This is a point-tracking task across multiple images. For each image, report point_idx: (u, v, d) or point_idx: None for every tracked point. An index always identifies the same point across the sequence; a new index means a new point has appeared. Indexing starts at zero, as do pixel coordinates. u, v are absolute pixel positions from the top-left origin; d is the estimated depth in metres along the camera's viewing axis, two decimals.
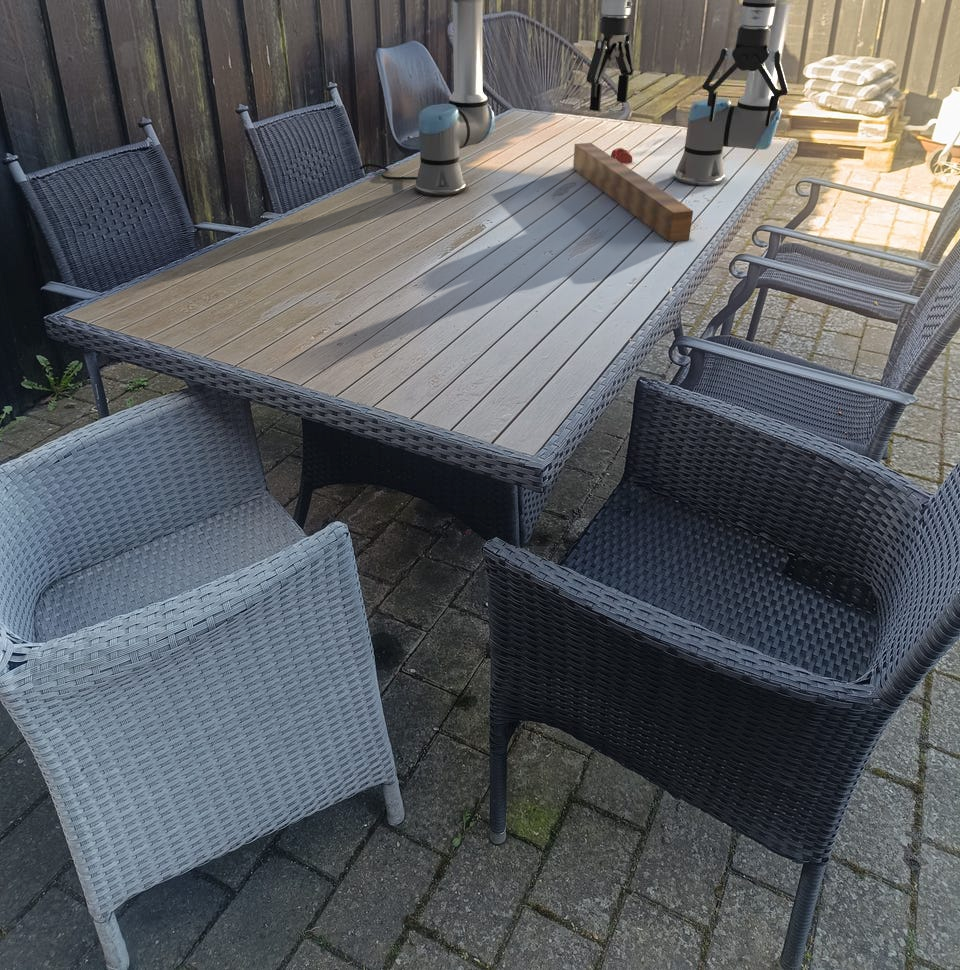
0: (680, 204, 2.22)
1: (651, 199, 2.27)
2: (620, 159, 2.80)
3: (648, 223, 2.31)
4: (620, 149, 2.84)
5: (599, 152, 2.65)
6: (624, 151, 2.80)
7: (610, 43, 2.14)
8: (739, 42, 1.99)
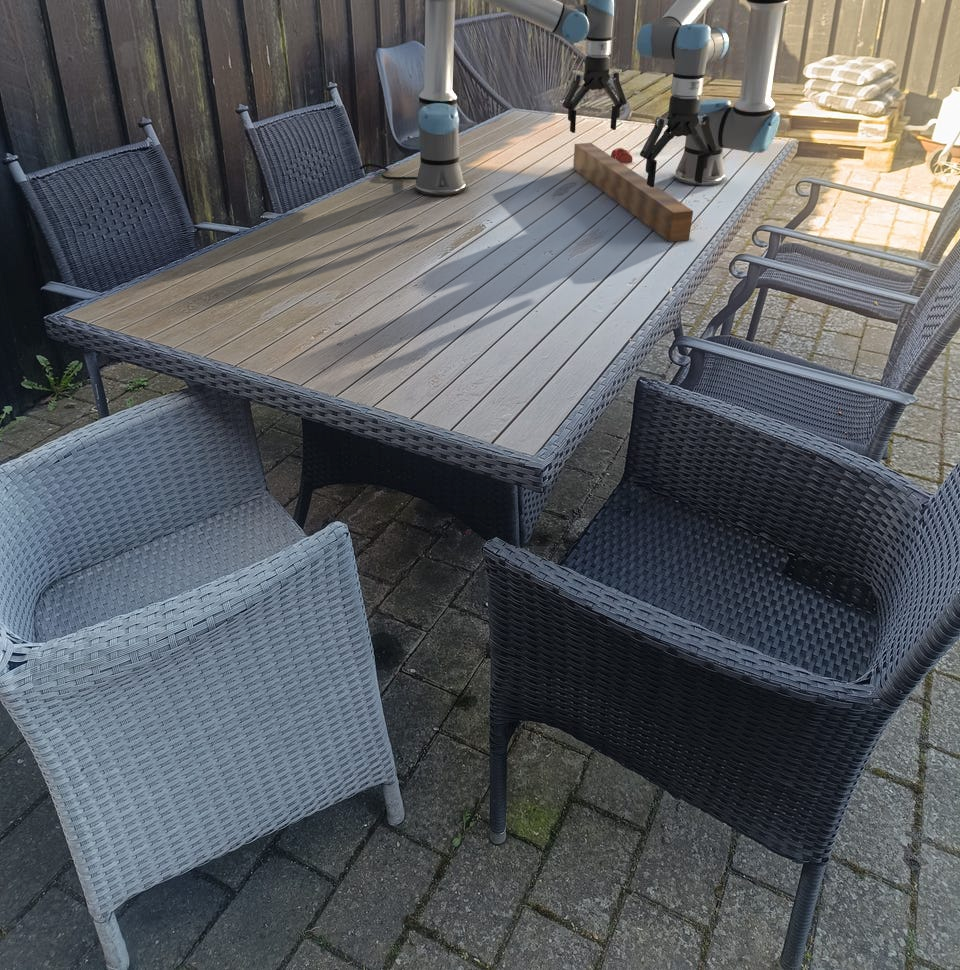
0: (680, 204, 2.22)
1: (651, 199, 2.27)
2: (620, 159, 2.80)
3: (648, 223, 2.31)
4: (620, 149, 2.84)
5: (599, 152, 2.65)
6: (624, 151, 2.80)
7: (587, 77, 2.54)
8: (678, 112, 2.06)
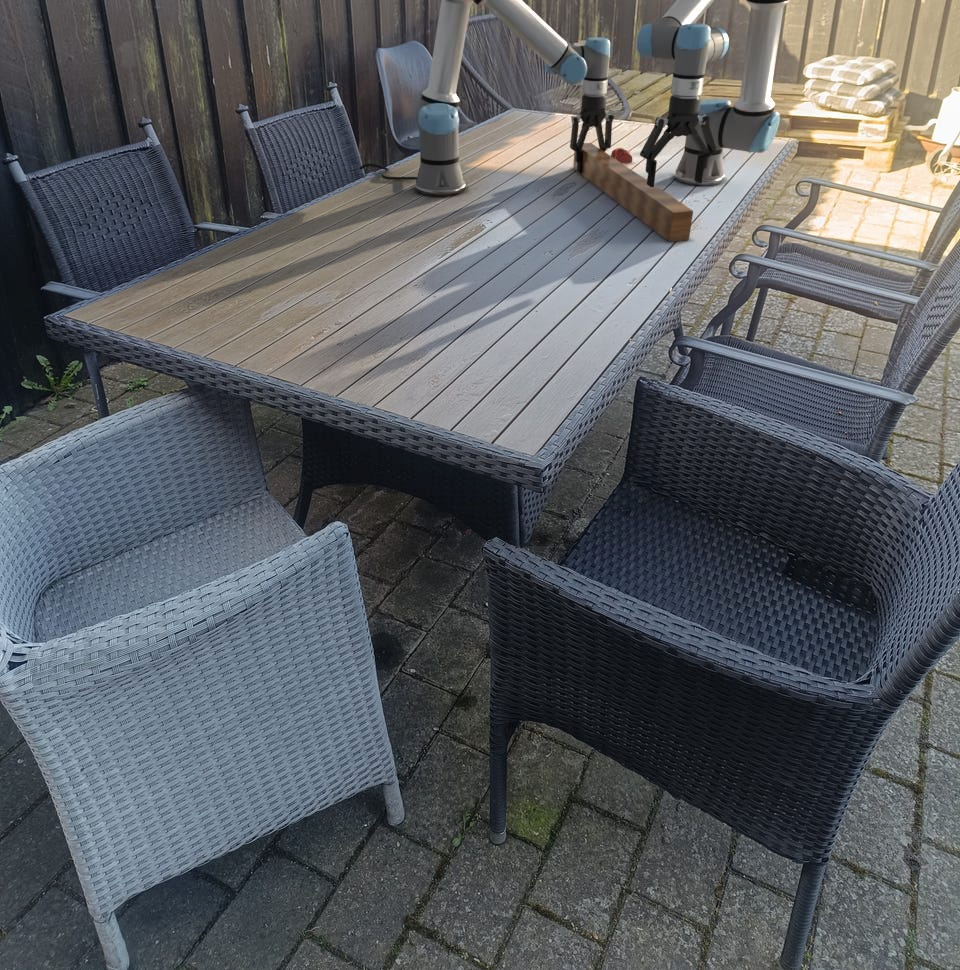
0: (680, 204, 2.22)
1: (651, 199, 2.27)
2: (620, 159, 2.80)
3: (648, 223, 2.31)
4: (620, 149, 2.84)
5: (599, 152, 2.65)
6: (624, 151, 2.80)
7: (584, 115, 2.61)
8: (678, 112, 2.06)
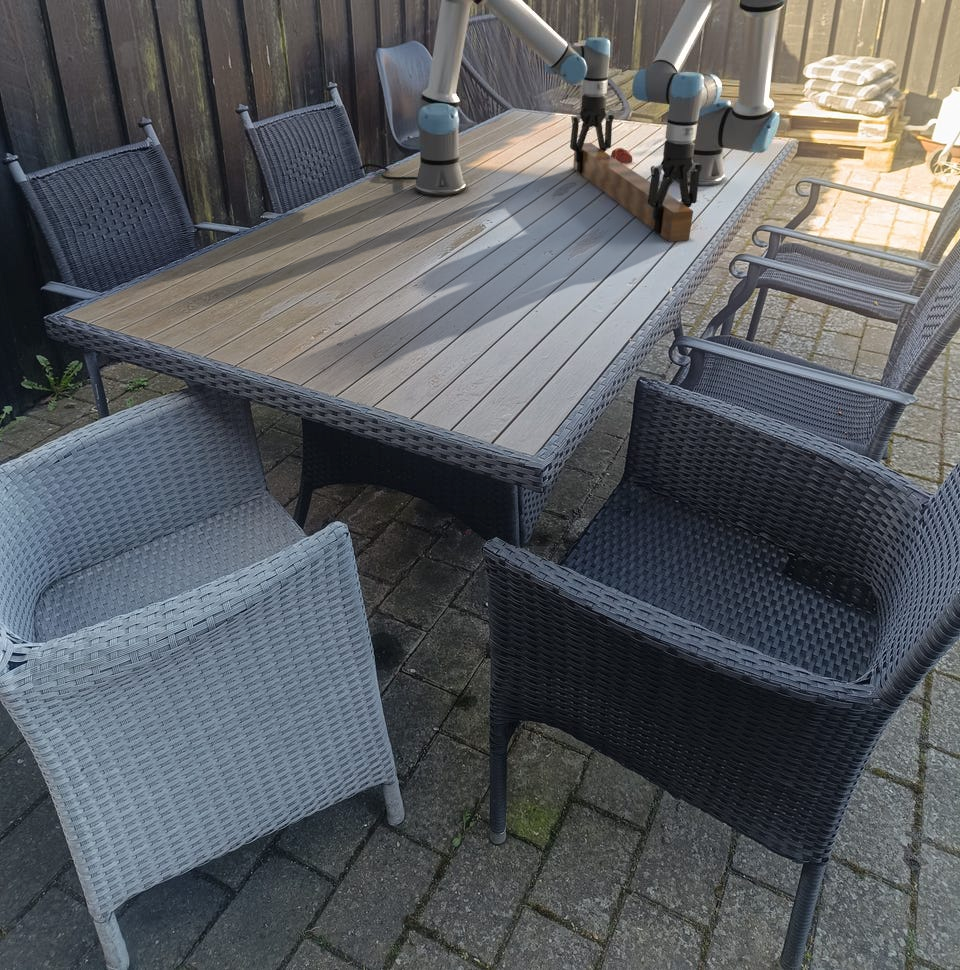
0: (680, 204, 2.22)
1: None
2: (620, 159, 2.80)
3: (648, 223, 2.31)
4: (620, 149, 2.84)
5: (599, 152, 2.65)
6: (624, 151, 2.80)
7: (584, 115, 2.61)
8: (672, 156, 2.12)
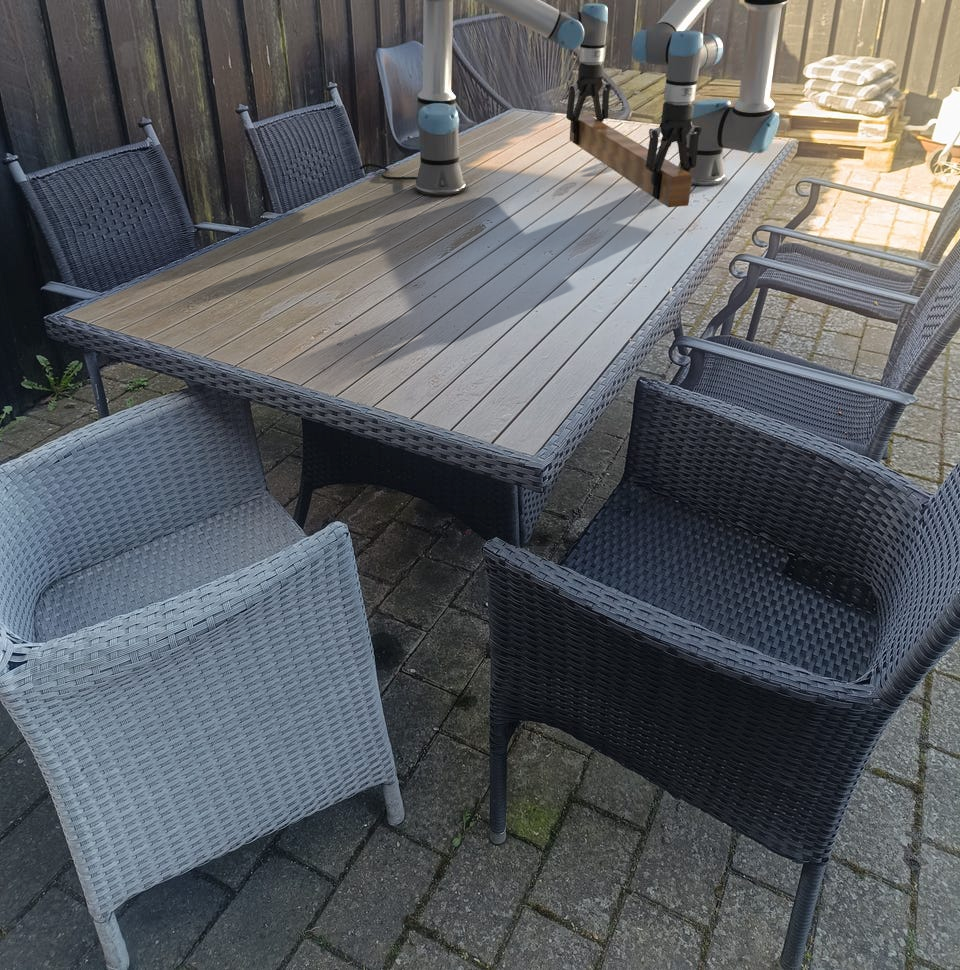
0: (679, 169, 2.17)
1: None
2: None
3: (646, 190, 2.26)
4: None
5: (596, 122, 2.60)
6: None
7: (580, 84, 2.56)
8: (671, 118, 2.07)
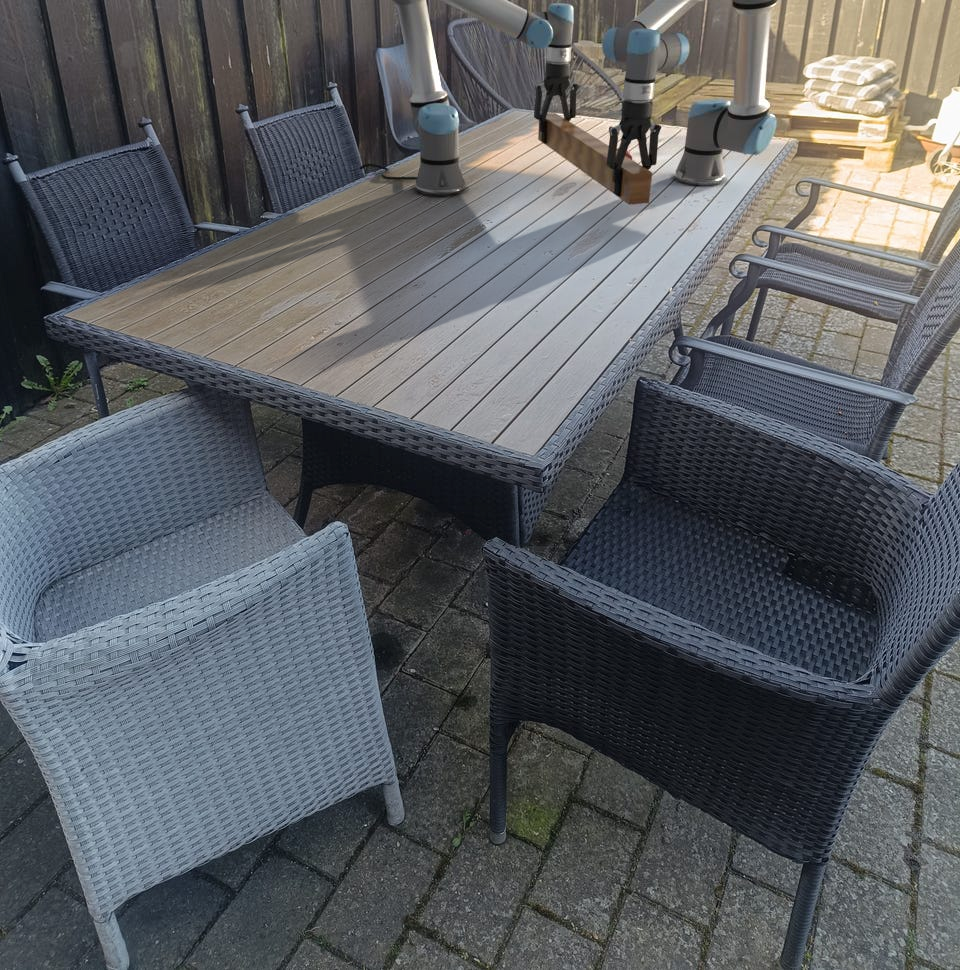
0: (640, 166, 2.18)
1: None
2: None
3: (609, 187, 2.27)
4: None
5: (563, 121, 2.61)
6: None
7: (547, 83, 2.58)
8: (630, 116, 2.09)
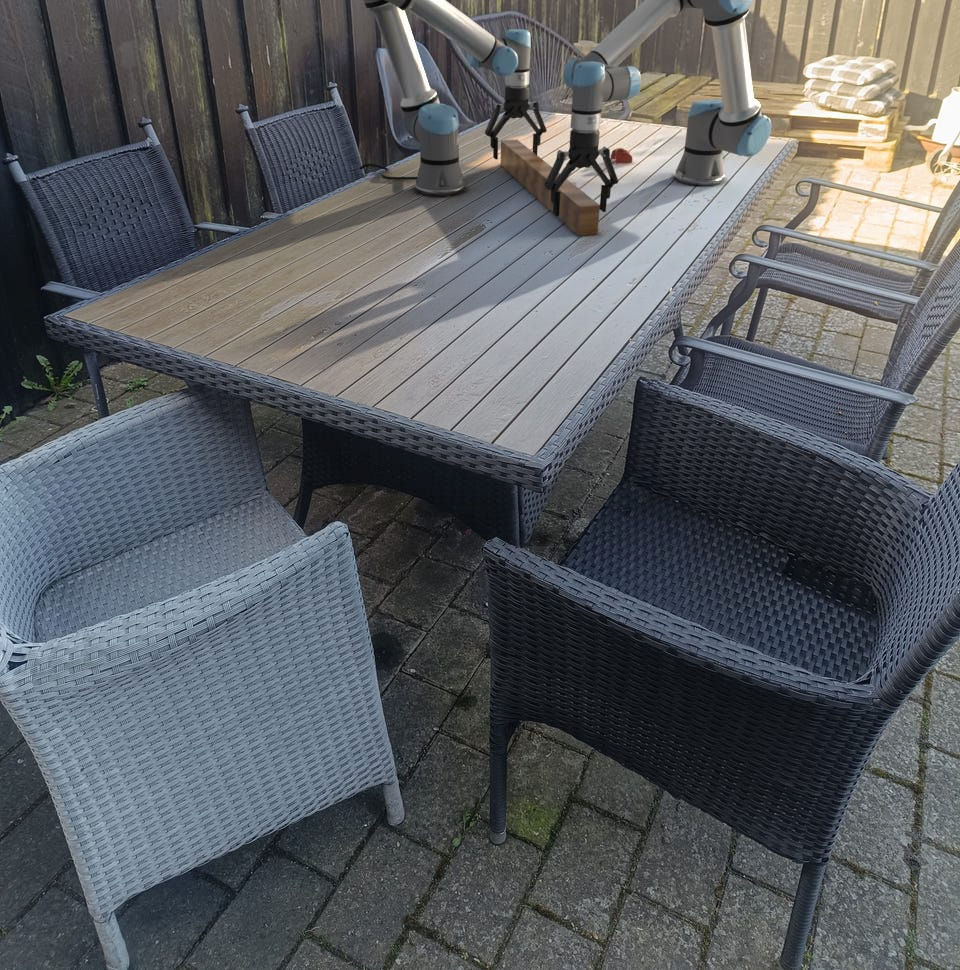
0: (589, 198, 2.25)
1: (562, 193, 2.31)
2: (620, 159, 2.80)
3: (561, 217, 2.35)
4: (620, 149, 2.84)
5: (523, 148, 2.68)
6: (624, 151, 2.80)
7: (507, 107, 2.64)
8: (577, 145, 2.15)
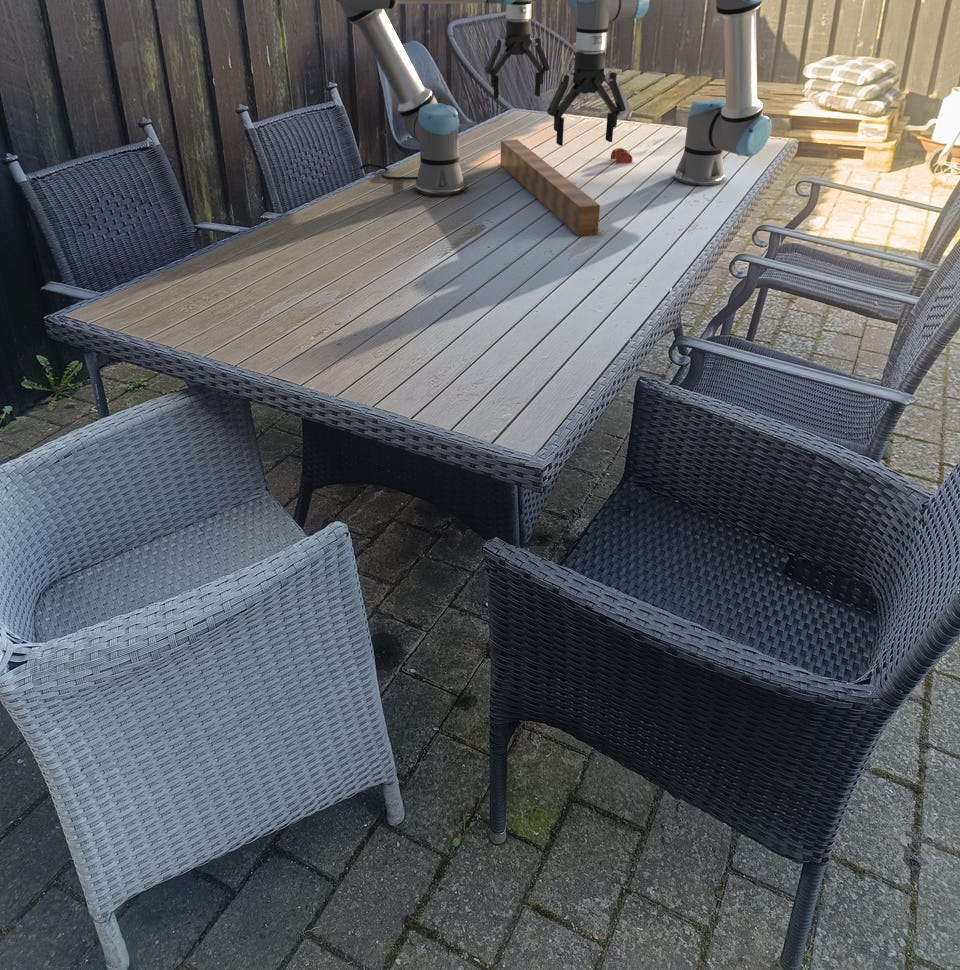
0: (589, 198, 2.25)
1: (562, 193, 2.31)
2: (620, 159, 2.80)
3: (561, 217, 2.35)
4: (620, 149, 2.84)
5: (523, 148, 2.68)
6: (624, 151, 2.80)
7: (508, 42, 2.53)
8: (582, 67, 2.04)
